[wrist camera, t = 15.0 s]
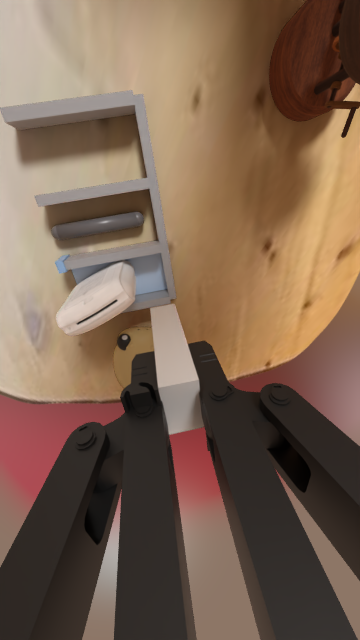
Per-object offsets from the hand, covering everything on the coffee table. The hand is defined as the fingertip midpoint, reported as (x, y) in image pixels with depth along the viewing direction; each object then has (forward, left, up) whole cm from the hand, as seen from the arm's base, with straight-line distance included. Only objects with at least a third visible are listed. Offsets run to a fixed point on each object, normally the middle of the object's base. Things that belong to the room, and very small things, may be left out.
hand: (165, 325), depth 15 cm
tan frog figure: (+17, -5, -26) cm, 31 cm away
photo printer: (+4, -8, -25) cm, 27 cm away
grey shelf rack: (-4, -5, -25) cm, 26 cm away
